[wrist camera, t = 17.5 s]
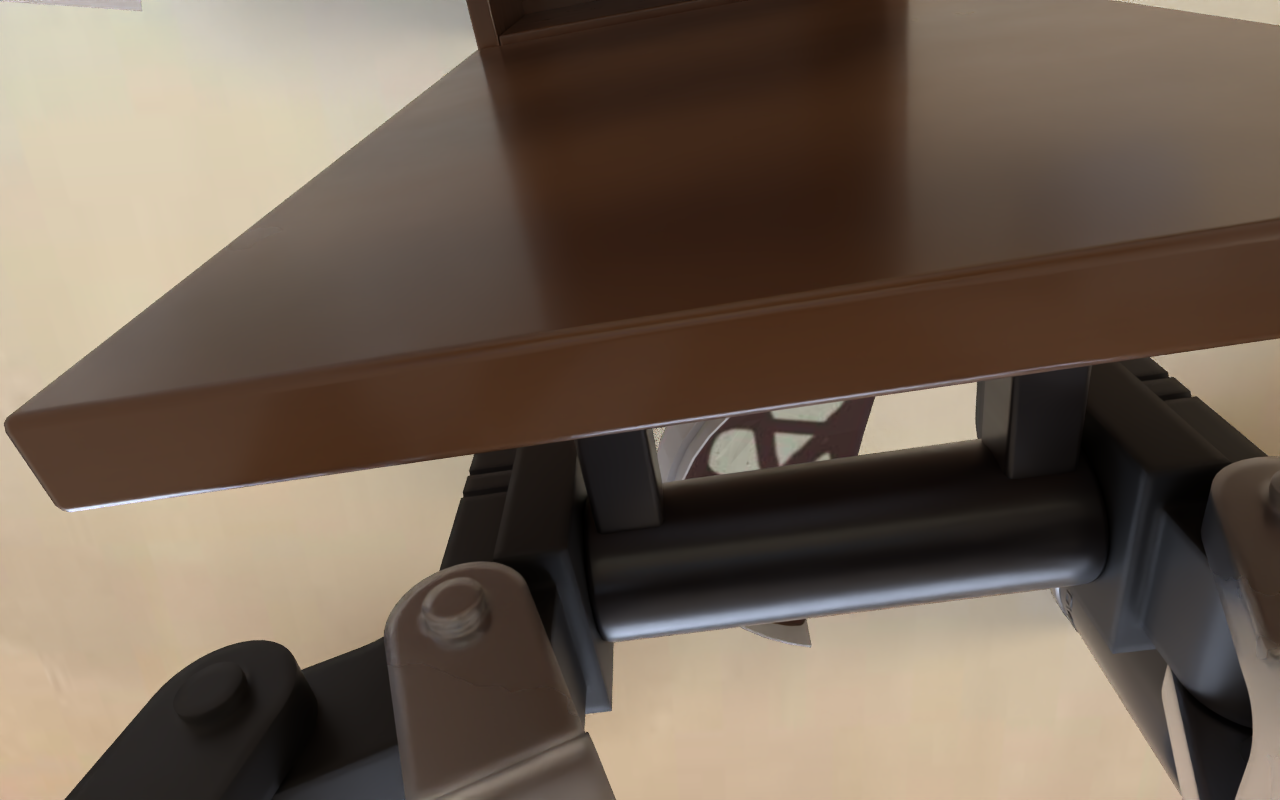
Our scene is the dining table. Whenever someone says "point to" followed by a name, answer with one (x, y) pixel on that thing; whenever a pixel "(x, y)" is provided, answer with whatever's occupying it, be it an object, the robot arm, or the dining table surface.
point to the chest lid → (731, 290)
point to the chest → (564, 16)
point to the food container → (765, 457)
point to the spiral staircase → (90, 3)
